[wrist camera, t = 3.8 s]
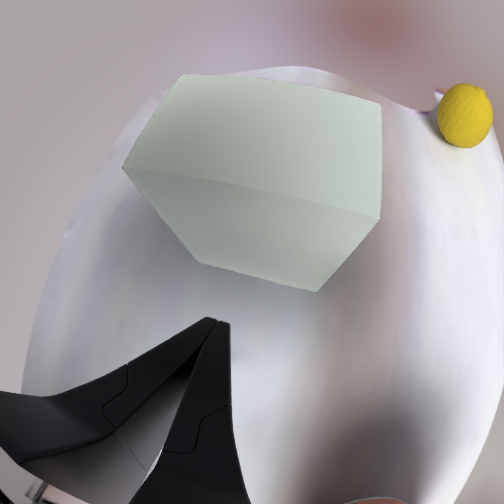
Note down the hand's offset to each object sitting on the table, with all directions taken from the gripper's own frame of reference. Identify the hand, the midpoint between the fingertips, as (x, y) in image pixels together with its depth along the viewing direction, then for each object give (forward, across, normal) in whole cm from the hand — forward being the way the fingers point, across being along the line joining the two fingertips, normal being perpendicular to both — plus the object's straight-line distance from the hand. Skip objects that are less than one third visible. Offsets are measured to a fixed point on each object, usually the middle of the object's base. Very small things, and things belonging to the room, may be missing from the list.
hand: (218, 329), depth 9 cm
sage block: (+10, 0, +1) cm, 10 cm away
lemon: (+22, -15, -9) cm, 28 cm away
